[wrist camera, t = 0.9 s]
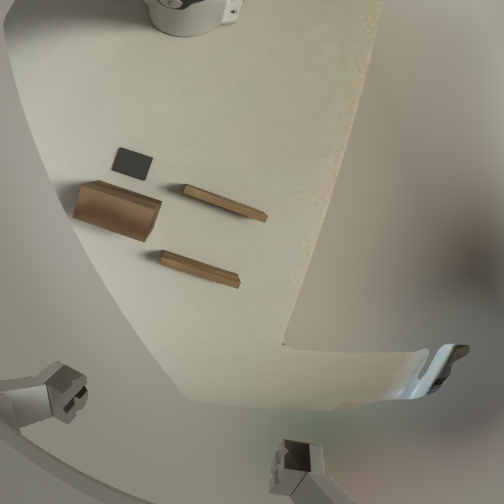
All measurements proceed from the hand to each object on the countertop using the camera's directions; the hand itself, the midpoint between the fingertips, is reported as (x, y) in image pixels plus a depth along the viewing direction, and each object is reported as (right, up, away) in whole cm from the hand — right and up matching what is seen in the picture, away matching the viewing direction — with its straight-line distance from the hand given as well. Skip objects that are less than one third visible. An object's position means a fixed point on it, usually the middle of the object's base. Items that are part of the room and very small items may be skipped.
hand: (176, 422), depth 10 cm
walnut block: (-19, +15, +39) cm, 46 cm away
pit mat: (-17, +21, +37) cm, 46 cm away
